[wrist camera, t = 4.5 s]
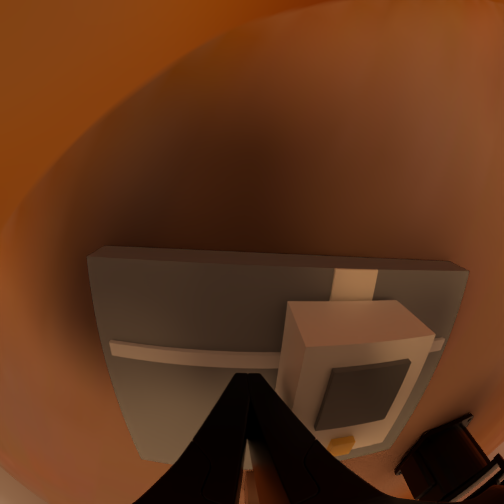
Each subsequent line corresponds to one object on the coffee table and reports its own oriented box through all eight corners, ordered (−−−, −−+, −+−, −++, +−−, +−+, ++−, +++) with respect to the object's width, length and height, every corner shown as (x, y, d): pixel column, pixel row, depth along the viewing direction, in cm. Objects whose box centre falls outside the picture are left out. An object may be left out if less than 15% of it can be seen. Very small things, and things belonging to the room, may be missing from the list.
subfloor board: (449, 261, 10) (472, 272, 9) (381, 433, 13) (390, 450, 12) (104, 245, 9) (83, 258, 8) (146, 440, 12) (140, 461, 11)
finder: (396, 300, 9) (441, 339, 6) (361, 401, 10) (385, 447, 7) (287, 300, 8) (308, 354, 6) (271, 410, 10) (280, 465, 7)
